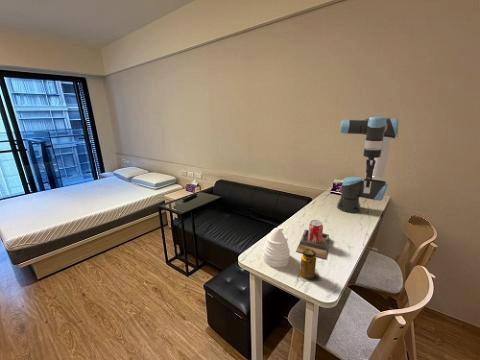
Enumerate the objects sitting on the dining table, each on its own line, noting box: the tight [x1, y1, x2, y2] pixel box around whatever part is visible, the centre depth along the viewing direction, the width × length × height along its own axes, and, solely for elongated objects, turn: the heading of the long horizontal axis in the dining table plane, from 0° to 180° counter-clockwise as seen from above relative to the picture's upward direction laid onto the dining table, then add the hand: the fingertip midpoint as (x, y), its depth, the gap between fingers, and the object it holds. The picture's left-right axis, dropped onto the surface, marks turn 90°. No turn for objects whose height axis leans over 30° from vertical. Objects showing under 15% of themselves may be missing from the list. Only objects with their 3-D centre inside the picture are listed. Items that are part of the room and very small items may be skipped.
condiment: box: [297, 249, 323, 282], centre depth 96 cm, size 7×8×12 cm
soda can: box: [308, 219, 324, 244], centre depth 118 cm, size 7×7×12 cm
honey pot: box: [262, 225, 291, 269], centre depth 106 cm, size 13×13×18 cm
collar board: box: [295, 229, 331, 260], centre depth 119 cm, size 20×14×4 cm
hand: (366, 188), depth 117 cm, fingers open, 13 cm apart
